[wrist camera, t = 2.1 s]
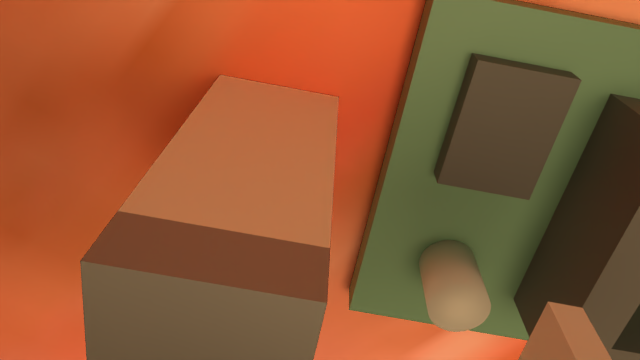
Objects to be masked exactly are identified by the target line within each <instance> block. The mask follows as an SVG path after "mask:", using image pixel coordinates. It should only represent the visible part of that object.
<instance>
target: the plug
mask: <svg viewBox="0 0 640 360" xmlns="http://www.w3.org/2000/svg"><path fill="white" fill-rule="evenodd" d="M338 103H339V97H337V96H331V95H326V94H321V93H315V92H310V91H305V90H299V89H294V88H289V87H283V86H278V85H273V84H267V83H262V82H257V81H251V80H246V79H241V78H235V77H230V76H225V75H220V76H219V77H218V78H217V80H216V81H215V82H214V84H213V85H212V86H211V88H210V89H209V90H208V92H207V93H206V94H205V96H204V97H203V98H202V100H201V101H200V102H199V104H198V105H197V106H196V108H195V109H194V110H193V112H192V113H191V114H190V116H189V117H188V118H187V120H186V121H185V122H184V124H183V125H182V126H181V128H180V129H179V130H178V132H177V133H176V134H175V136H174V137H173V138H172V140H171V141H170V142H169V144H168V145H167V146H166V148H165V149H164V150H163V152H162V153H161V154H160V156H159V157H158V158H157V160H156V161H155V162H154V164H153V165H152V166H151V168H150V169H149V170H148V172H147V173H146V174H145V176H144V177H143V178H142V180H141V181H140V182H139V183H138V185H137V186H136V187H135V189H134V190H133V191H132V193H131V194H130V195H129V197H128V198H127V199H126V201H125V202H124V203H123V205H122V206H121V207H120V209H119V210H118V211H117V213H116V214H115V215H114V217H113V218H112V219H111V221H110V222H109V223H108V225H107V226H106V227H105V229H104V230H103V231H102V233H101V234H100V235H99V237H98V238H97V239H96V241H95V242H94V243H93V245H92V246H91V247H90V249H89V250H88V251H87V253H86V254H85V255H84V257H83V258H82V259H81V261H80V262H81V278H82V294H83V309H84V325H85V341H86V357H87V360H313V359H314V355H315V351H316V347H317V342H318V338H319V334H320V330H321V326H322V322H323V318H324V314H325V310H326V305H327V295H328V278H329V260H330V243H331V225H332V208H333V190H334V173H335V155H336V138H337V120H338Z"/></svg>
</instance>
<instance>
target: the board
mask: <svg viewBox="0 0 640 360" xmlns="http://www.w3.org/2000/svg"><path fill="white" fill-rule="evenodd" d="M547 302H553V303H559V304H564V305H570V306H575V307H581V308H583V309H584V311H585V313H586V315H587V316H588V318H589V320H590V322H591V324H592V325H593V327H594V329H595V331H596V332H597V334H598V336H599V338H600V340H601V341H602V343H603V345H604V347H605V348H606V350H607V352H608V354H609V356H610V357H611V359H612V360H640V25H638V24H633V23H628V22H623V21H618V20H613V19H608V18H603V17H597V16H592V15H587V14H582V13H577V12H572V11H567V10H562V9H557V8H552V7H547V6H542V5H537V4H532V3H527V2H522V1H517V0H426V3H425V6H424V10H423V14H422V18H421V22H420V25H419V29H418V33H417V37H416V40H415V44H414V48H413V52H412V55H411V59H410V63H409V67H408V70H407V74H406V78H405V82H404V85H403V89H402V93H401V97H400V100H399V104H398V108H397V112H396V115H395V119H394V123H393V127H392V130H391V134H390V138H389V142H388V145H387V149H386V153H385V157H384V160H383V164H382V168H381V172H380V176H379V179H378V183H377V187H376V191H375V194H374V198H373V202H372V206H371V209H370V213H369V217H368V221H367V224H366V228H365V232H364V236H363V239H362V243H361V247H360V251H359V254H358V258H357V262H356V266H355V269H354V273H353V277H352V281H351V284H350V288H349V310H353V311H359V312H365V313H371V314H376V315H382V316H388V317H394V318H400V319H406V320H411V321H417V322H423V323H429V324H435V325H436V326H438V327H439V328H441V329H444V330H447V331H453V332H460V331H467V330H470V331H476V332H481V333H487V334H493V335H499V336H505V337H511V338H516V339H522V340H528V339H529V338H530V336H531V334H532V332H533V330H534V328H535V326H536V324H537V322H538V320H539V318H540V316H541V314H542V312H543V310H544V308H545V306H546V304H547Z"/></svg>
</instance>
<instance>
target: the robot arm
mask: <svg viewBox="0 0 640 360" xmlns="http://www.w3.org/2000/svg"><path fill="white" fill-rule="evenodd" d="M518 360H612V359H611V357H610V356H609V354H608V352H607V350H606V348H605V347H604V345H603V343H602V341H601V340H600V338H599V336H598V334H597V332H596V331H595V329H594V327H593V325H592V324H591V322H590V320H589V318H588V316H587V315H586V313H585V311H584V309H583V308H581V307H575V306H570V305H564V304H559V303H553V302H547V304H546V306H545V308H544V310H543V312H542V314H541V316H540V318H539V320H538V322H537V324H536V326H535V328H534V330H533V332H532V334H531V336H530V338H529V339H528V341H527V343H526V345H525V347H524V349H523V351H522V353H521V355H520V357H519V359H518Z"/></svg>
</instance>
